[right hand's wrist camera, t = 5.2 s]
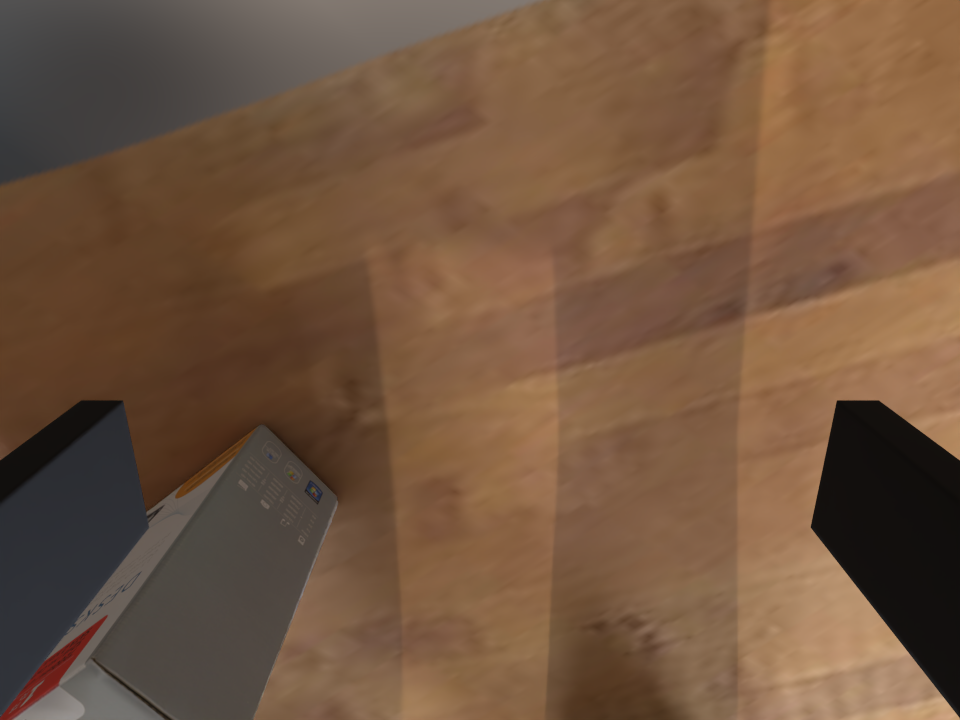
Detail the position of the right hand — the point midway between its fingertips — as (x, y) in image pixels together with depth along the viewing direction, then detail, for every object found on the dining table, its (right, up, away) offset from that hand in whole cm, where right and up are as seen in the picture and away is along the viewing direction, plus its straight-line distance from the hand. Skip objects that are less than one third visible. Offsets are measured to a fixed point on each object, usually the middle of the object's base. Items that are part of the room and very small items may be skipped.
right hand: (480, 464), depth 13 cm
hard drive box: (-18, -9, +33) cm, 39 cm away
